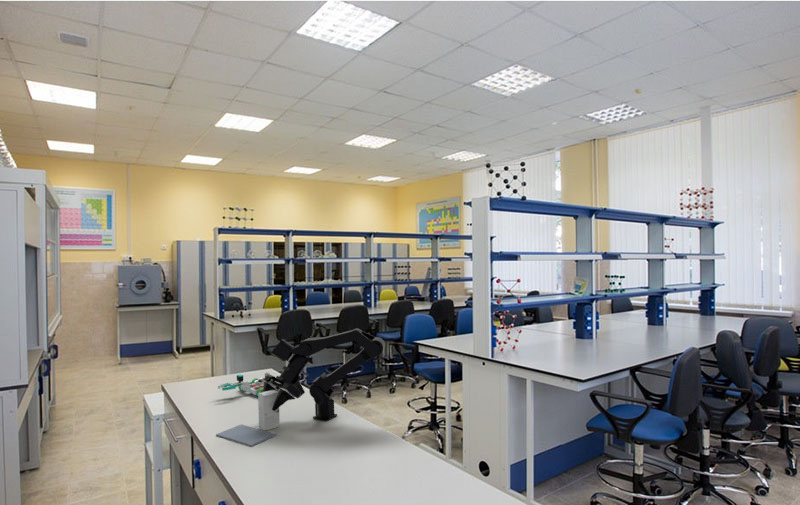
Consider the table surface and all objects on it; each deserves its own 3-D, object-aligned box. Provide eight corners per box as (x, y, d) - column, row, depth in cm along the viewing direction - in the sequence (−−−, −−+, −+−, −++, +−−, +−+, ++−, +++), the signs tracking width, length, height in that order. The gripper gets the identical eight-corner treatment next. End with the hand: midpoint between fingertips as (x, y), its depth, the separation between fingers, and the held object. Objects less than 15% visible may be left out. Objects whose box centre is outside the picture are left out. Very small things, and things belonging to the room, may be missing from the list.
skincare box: (264, 431, 151) (263, 395, 151) (258, 428, 154) (257, 393, 155) (280, 426, 155) (279, 391, 156) (274, 423, 159) (273, 389, 159)
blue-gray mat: (276, 435, 147) (276, 433, 147) (251, 446, 139) (251, 445, 139) (241, 425, 157) (241, 424, 157) (216, 435, 149) (216, 434, 149)
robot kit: (211, 398, 191) (211, 376, 192) (264, 384, 210) (263, 365, 210) (232, 406, 179) (232, 383, 179) (286, 392, 197) (285, 370, 197)
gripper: (321, 385, 159) (295, 425, 152) (296, 376, 173) (271, 412, 166) (301, 368, 154) (273, 409, 147) (276, 360, 168) (249, 396, 161)
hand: (267, 407), depth 155 cm, fingers open, 9 cm apart
